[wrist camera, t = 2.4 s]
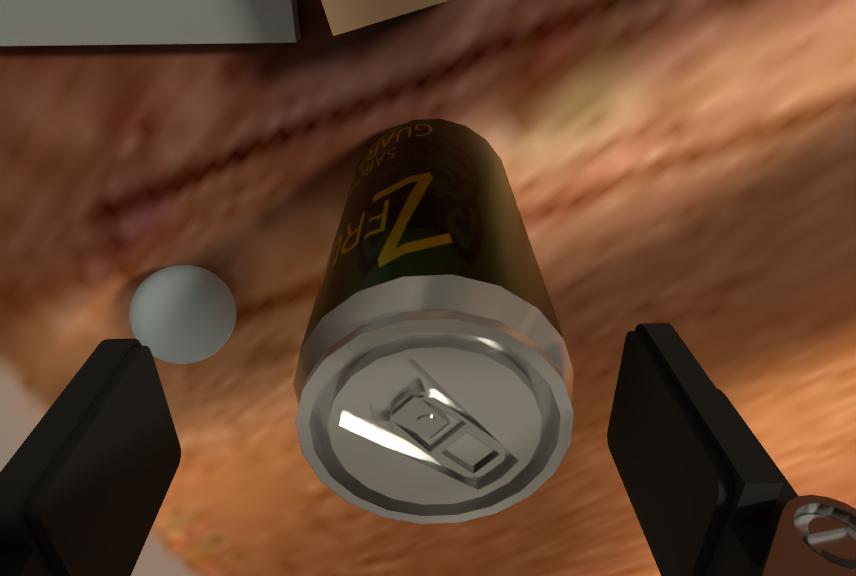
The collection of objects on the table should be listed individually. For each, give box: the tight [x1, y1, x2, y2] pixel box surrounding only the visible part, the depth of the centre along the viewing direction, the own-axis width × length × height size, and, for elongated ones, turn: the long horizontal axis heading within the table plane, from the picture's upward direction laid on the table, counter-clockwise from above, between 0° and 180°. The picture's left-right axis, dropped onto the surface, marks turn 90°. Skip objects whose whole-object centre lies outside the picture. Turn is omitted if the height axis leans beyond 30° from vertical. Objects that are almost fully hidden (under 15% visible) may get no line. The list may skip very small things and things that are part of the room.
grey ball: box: [129, 265, 237, 364], centre depth 21 cm, size 4×4×4 cm
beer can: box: [294, 119, 574, 524], centre depth 16 cm, size 5×5×12 cm
